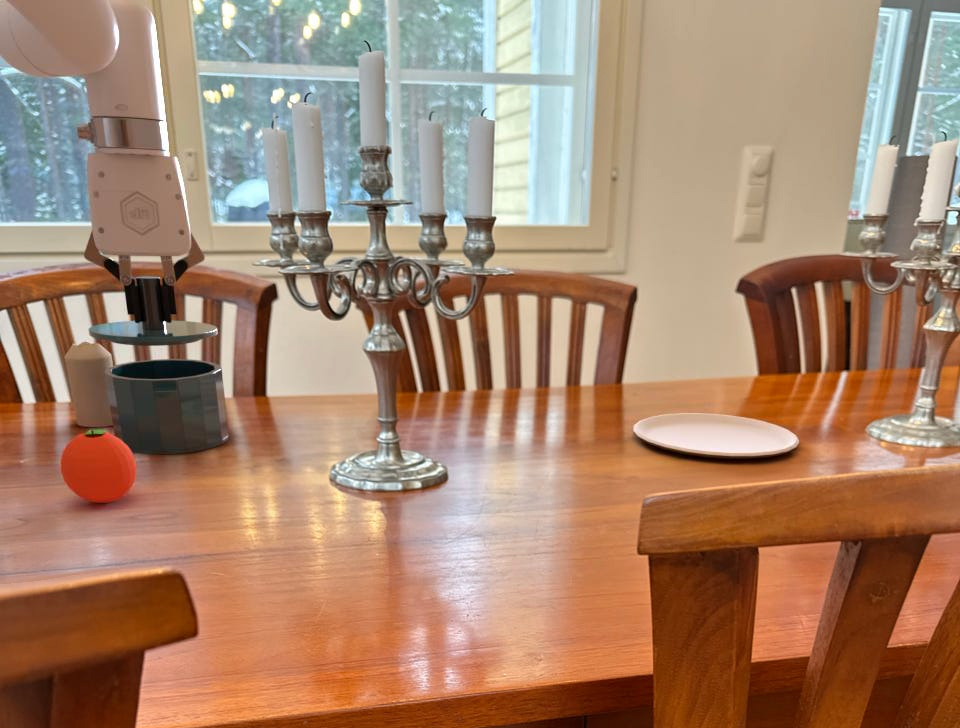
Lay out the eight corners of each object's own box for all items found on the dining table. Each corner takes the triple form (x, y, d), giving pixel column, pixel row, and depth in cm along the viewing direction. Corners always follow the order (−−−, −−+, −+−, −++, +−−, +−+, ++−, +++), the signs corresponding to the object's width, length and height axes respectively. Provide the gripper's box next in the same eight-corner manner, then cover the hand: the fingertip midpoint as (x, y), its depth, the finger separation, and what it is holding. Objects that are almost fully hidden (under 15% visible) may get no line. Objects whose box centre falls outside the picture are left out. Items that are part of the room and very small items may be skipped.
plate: (669, 467, 104) (670, 456, 103) (609, 423, 122) (610, 414, 121) (830, 460, 108) (832, 450, 107) (750, 419, 126) (751, 410, 125)
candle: (77, 429, 114) (62, 347, 109) (76, 419, 118) (61, 340, 114) (123, 425, 116) (110, 345, 111) (120, 416, 120) (107, 338, 116)
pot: (114, 464, 101) (101, 387, 97) (118, 424, 116) (107, 357, 112) (234, 456, 104) (226, 382, 101) (223, 419, 120) (216, 353, 116)
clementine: (74, 489, 93) (61, 420, 89) (145, 485, 94) (134, 418, 91) (62, 514, 86) (47, 441, 82) (138, 510, 87) (127, 438, 84)
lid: (86, 349, 96) (75, 283, 93) (93, 331, 108) (84, 271, 105) (222, 347, 101) (216, 283, 98) (214, 329, 113) (209, 272, 110)
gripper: (44, 134, 90) (75, 326, 98) (211, 142, 95) (227, 325, 103) (51, 137, 96) (80, 317, 104) (207, 145, 101) (223, 317, 109)
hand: (153, 319), depth 104 cm, fingers closed on lid, 2 cm apart
